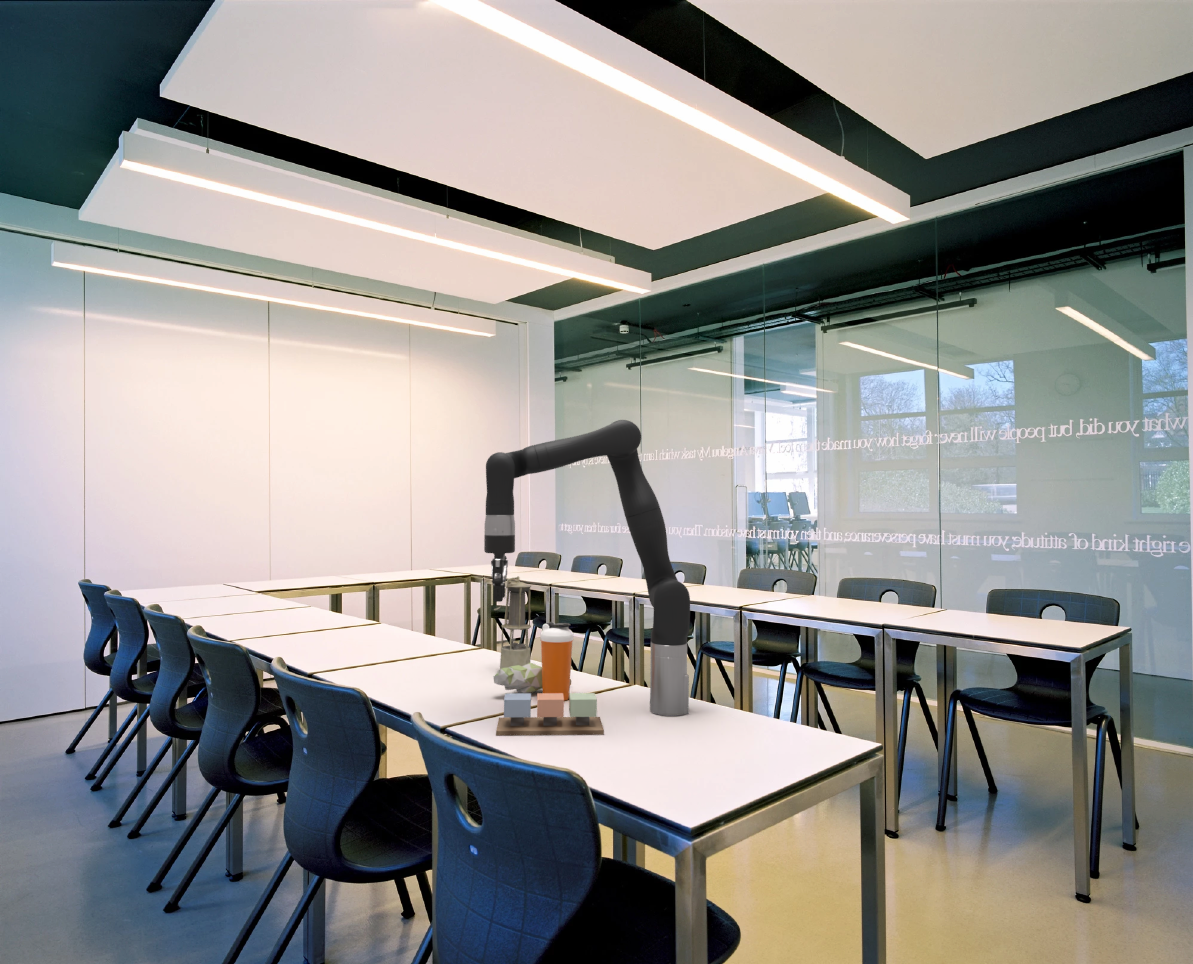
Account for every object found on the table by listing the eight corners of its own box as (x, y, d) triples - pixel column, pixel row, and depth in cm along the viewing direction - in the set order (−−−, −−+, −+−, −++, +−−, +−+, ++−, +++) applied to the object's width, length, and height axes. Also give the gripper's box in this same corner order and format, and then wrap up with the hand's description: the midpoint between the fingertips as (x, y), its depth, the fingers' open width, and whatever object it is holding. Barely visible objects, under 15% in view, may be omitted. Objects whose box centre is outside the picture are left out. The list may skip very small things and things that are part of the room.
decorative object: (555, 680, 214) (483, 673, 199) (573, 659, 210) (500, 651, 195) (565, 706, 208) (490, 700, 193) (583, 685, 204) (509, 678, 189)
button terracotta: (562, 710, 172) (563, 693, 172) (563, 717, 166) (563, 699, 166) (537, 710, 171) (537, 693, 171) (537, 717, 165) (537, 699, 165)
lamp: (538, 673, 226) (540, 576, 228) (504, 679, 217) (506, 578, 219) (517, 668, 234) (519, 574, 235) (484, 674, 225) (486, 576, 226)
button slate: (530, 710, 171) (531, 693, 171) (530, 717, 165) (530, 699, 165) (504, 710, 171) (505, 693, 171) (503, 717, 165) (504, 699, 165)
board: (599, 721, 175) (599, 708, 175) (603, 734, 164) (604, 721, 164) (498, 721, 173) (499, 708, 173) (496, 735, 162) (496, 721, 162)
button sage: (594, 709, 172) (594, 693, 172) (596, 716, 166) (596, 699, 166) (569, 710, 172) (569, 693, 172) (570, 716, 166) (570, 699, 166)
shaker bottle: (567, 703, 191) (569, 626, 192) (535, 701, 192) (536, 624, 193) (575, 695, 199) (576, 621, 200) (544, 693, 201) (545, 620, 202)
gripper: (513, 534, 174) (513, 602, 173) (516, 532, 188) (515, 596, 187) (481, 534, 173) (481, 603, 173) (486, 532, 187) (486, 596, 187)
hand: (499, 599), depth 180 cm, fingers open, 8 cm apart
